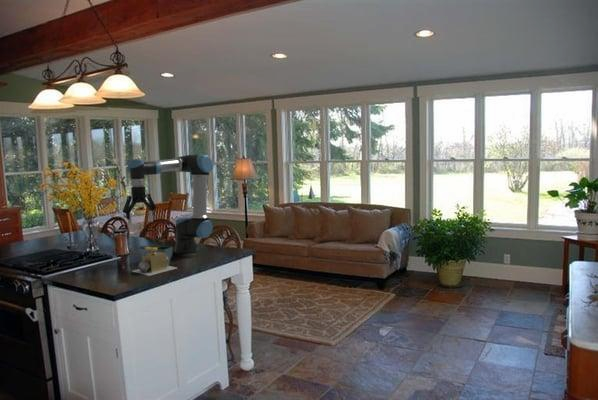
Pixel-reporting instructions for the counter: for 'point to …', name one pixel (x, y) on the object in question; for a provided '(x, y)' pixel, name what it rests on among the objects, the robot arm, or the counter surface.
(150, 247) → the lever
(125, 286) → the counter surface
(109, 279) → the counter surface
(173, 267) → the mat
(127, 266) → the counter surface
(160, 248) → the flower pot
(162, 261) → the valve
